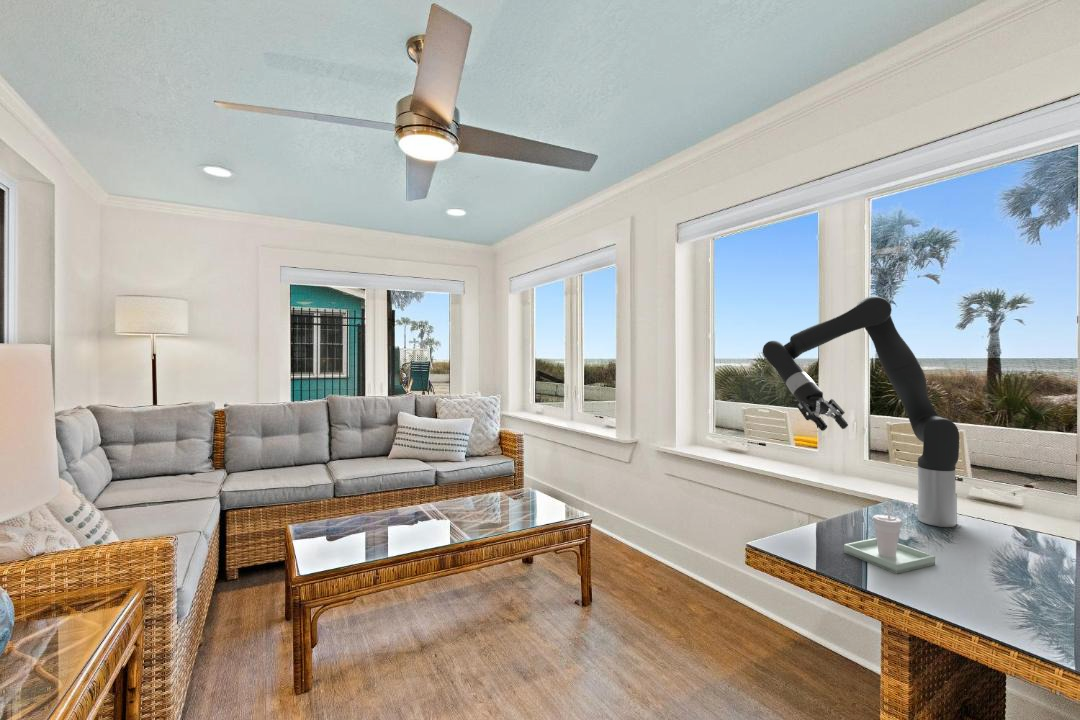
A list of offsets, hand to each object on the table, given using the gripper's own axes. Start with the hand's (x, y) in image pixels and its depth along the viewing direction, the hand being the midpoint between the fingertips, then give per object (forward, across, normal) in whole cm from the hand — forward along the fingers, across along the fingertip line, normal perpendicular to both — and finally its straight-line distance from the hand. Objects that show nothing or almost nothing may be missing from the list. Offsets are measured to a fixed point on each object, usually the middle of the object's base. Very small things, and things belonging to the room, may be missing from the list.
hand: (835, 428), depth 152 cm
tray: (+37, -8, +6) cm, 38 cm away
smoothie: (+36, -8, +6) cm, 38 cm away
